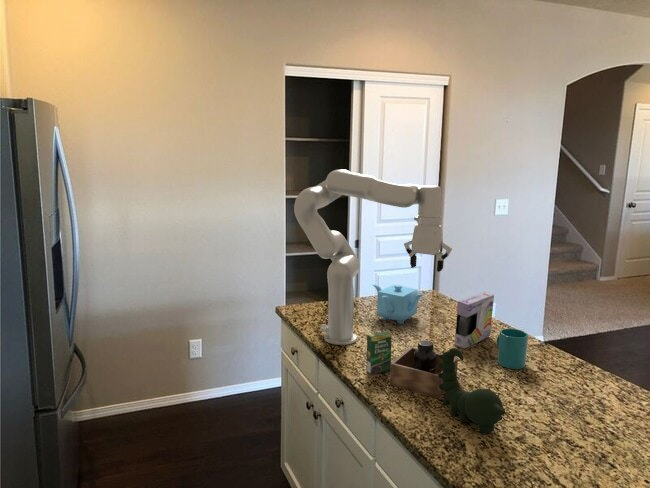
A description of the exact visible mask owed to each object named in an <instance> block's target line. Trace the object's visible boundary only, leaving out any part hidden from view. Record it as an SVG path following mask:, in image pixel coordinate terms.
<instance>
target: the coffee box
mask: <svg viewBox="0 0 650 488" xmlns="http://www.w3.org/2000/svg"><path fill="white" fill-rule="evenodd" d="M391 360H392V333H391V332H389V331H388V330H386V331H382V332H376V333H371V334H366V372H367V373H368V374H369V375H371V376H372V375H377V374H379V373H385V372H390V364H391V363H392V361H391Z"/></svg>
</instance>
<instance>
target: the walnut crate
mask: <svg viewBox="0 0 650 488" xmlns="http://www.w3.org/2000/svg"><path fill="white" fill-rule="evenodd" d="M417 349H418V347H413V346H410V347H408V349H406V350H405V351H404V352H403V353H401V355H399V356H398V357H396V359H394V360H393V361H391V364H390V371H389V385H390V386H393V387H395V388H396V387H397V388H399V389H403V390H406V391H407V390H408V391H411V392H413V393H417V394H420V395H424V396H428V397H432V398H435V399H441V397H442V396H443V395H444V394H446V392H445V391H444V389H443V390H441V389H439V385H440V384H441V383H443V379H442V378H439V377H438V374H439V373H442V372H443V370H442V368H440V367H439V363H442V362H443V361H442V359H440V355H441V354H442V355H443V353H438V352H435V353H436V367H435V374H433V373H429V372H426V371H422V370H418V369H414V368H413V365H414V352H415V351H416V350H417ZM458 359H459V357H457V356H456V357H454V363H455V366H456V367H455V370H454V371H455V372H456V374H458V364H459V363H458V361H459V360H458Z"/></svg>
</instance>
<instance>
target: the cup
mask: <svg viewBox="0 0 650 488" xmlns="http://www.w3.org/2000/svg"><path fill="white" fill-rule="evenodd" d="M528 341H529V334H528V333H527V332H526V331H524V330H521V329H517V328H503V329H501V330H500V331H499V335H498V336H497V337H496V346H497V348H498V349H497V350H498V352H497V362H498V364H499V365H500V366H502V367H504V368H507V369H511V370H520V369H523V368H525V367H526V362H527V353H528Z"/></svg>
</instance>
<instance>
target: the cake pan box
mask: <svg viewBox="0 0 650 488" xmlns="http://www.w3.org/2000/svg"><path fill="white" fill-rule="evenodd" d="M494 298H495V294H493V293H489V292H486V291H484V292H480V293H479V294H474V295H471V296H468V297H467V298H464V299H461V300H458V301H457V306H456V307H457V309H456V310H457V311H456V322H455V334H454V335H455V336H454V346H456V347H457V348H458V347H459V348H461V349H467V348H469V347H471V346H473V345H475V344H477V343H479V342H481V341H483V340H485V339H487V338H489V337H491V329H492V322H493V321H492V318H493V310H494V309H493V308H494Z"/></svg>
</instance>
